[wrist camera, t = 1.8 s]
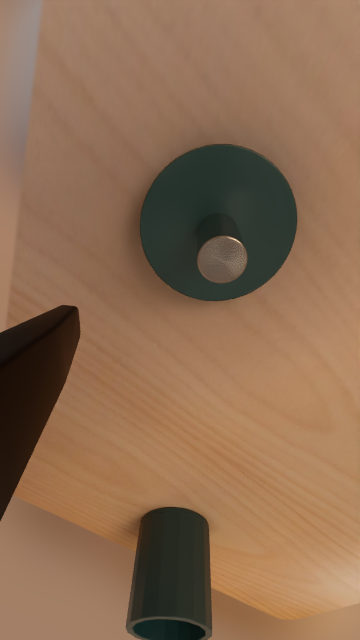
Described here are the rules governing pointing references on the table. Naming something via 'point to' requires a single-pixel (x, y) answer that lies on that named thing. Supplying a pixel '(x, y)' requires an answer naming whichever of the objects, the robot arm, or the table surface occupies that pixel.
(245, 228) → the tin lid
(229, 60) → the table surface
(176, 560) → the tin
